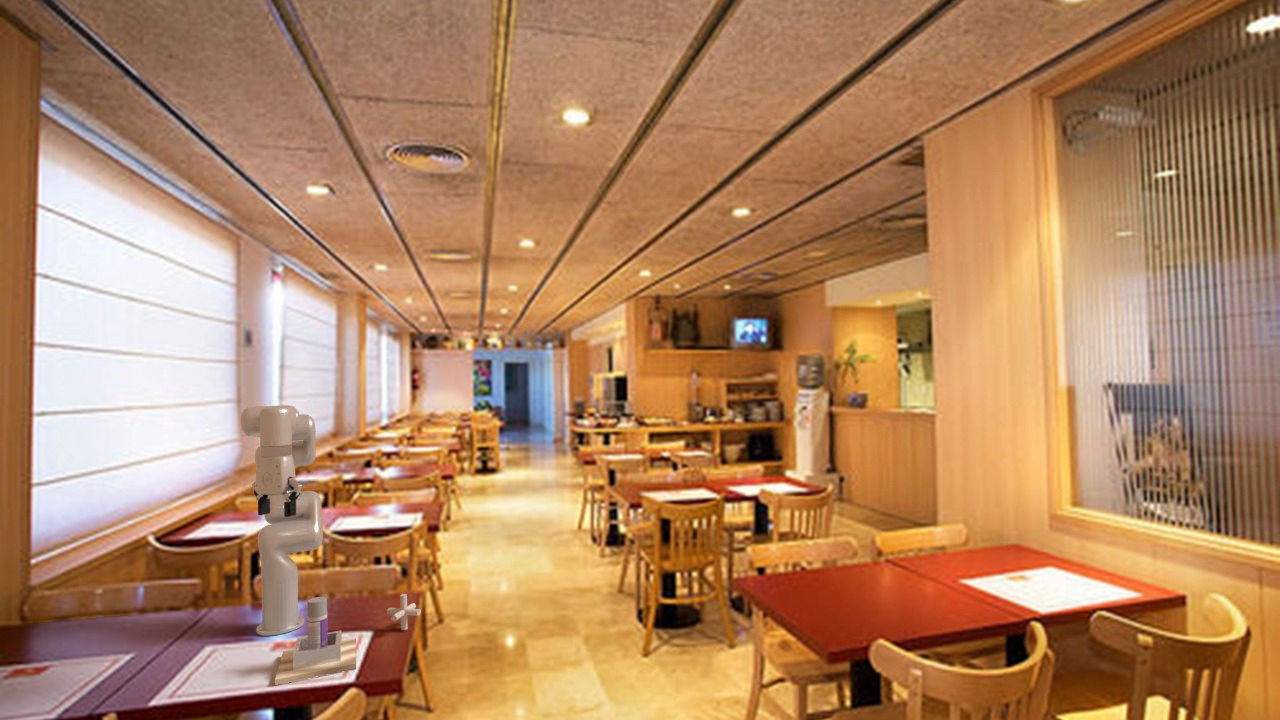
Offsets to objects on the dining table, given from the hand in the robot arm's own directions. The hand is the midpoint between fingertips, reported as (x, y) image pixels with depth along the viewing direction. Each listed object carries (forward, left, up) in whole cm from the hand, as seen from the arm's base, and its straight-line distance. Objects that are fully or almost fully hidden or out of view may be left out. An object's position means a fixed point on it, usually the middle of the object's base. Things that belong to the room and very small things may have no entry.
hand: (277, 515), depth 168 cm
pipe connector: (-4, +32, -38) cm, 50 cm away
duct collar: (+9, +10, -37) cm, 39 cm away
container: (+9, +10, -37) cm, 39 cm away
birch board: (+9, +10, -38) cm, 41 cm away
